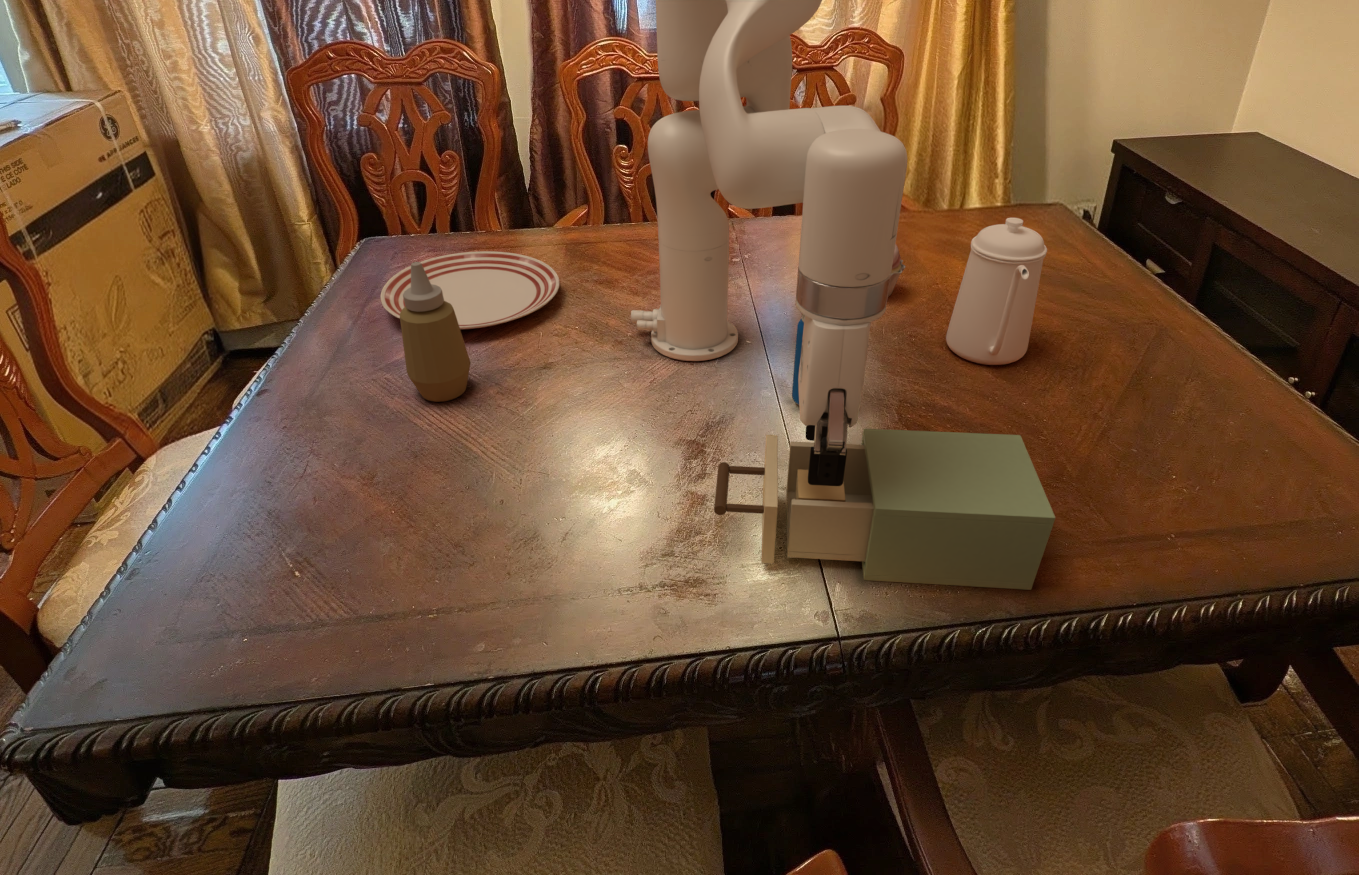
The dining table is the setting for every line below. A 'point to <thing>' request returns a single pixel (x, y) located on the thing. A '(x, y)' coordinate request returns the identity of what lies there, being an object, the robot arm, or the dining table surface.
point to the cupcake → (895, 270)
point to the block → (817, 490)
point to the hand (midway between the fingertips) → (823, 459)
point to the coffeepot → (997, 294)
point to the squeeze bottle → (432, 340)
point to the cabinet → (954, 509)
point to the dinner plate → (481, 286)
